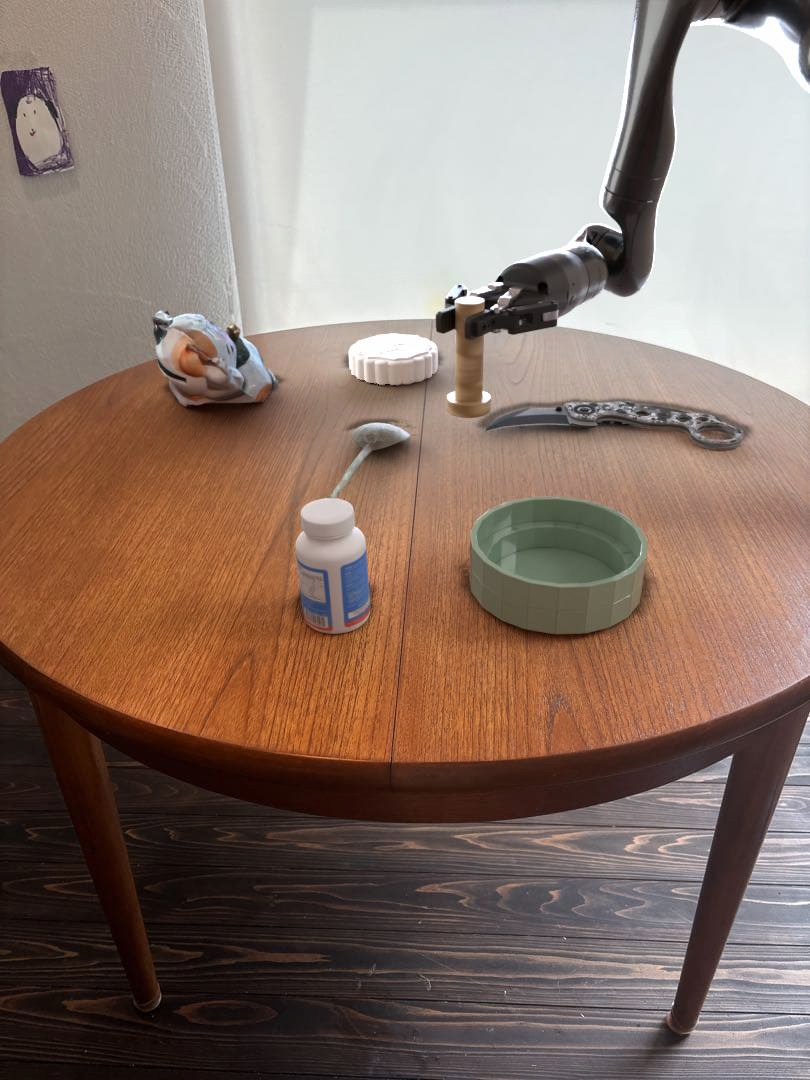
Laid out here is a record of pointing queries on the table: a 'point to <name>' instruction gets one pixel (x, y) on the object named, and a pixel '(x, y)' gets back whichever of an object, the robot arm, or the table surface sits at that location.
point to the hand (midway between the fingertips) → (453, 326)
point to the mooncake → (393, 359)
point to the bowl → (557, 564)
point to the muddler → (468, 365)
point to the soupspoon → (370, 446)
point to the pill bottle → (332, 567)
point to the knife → (626, 420)
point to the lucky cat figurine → (209, 361)
